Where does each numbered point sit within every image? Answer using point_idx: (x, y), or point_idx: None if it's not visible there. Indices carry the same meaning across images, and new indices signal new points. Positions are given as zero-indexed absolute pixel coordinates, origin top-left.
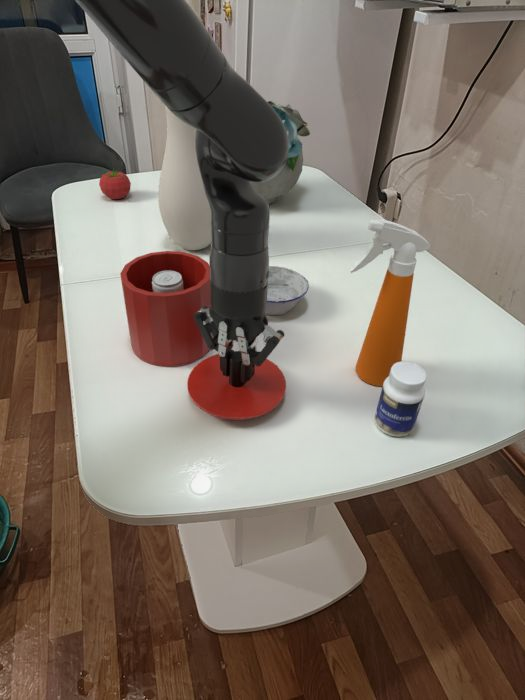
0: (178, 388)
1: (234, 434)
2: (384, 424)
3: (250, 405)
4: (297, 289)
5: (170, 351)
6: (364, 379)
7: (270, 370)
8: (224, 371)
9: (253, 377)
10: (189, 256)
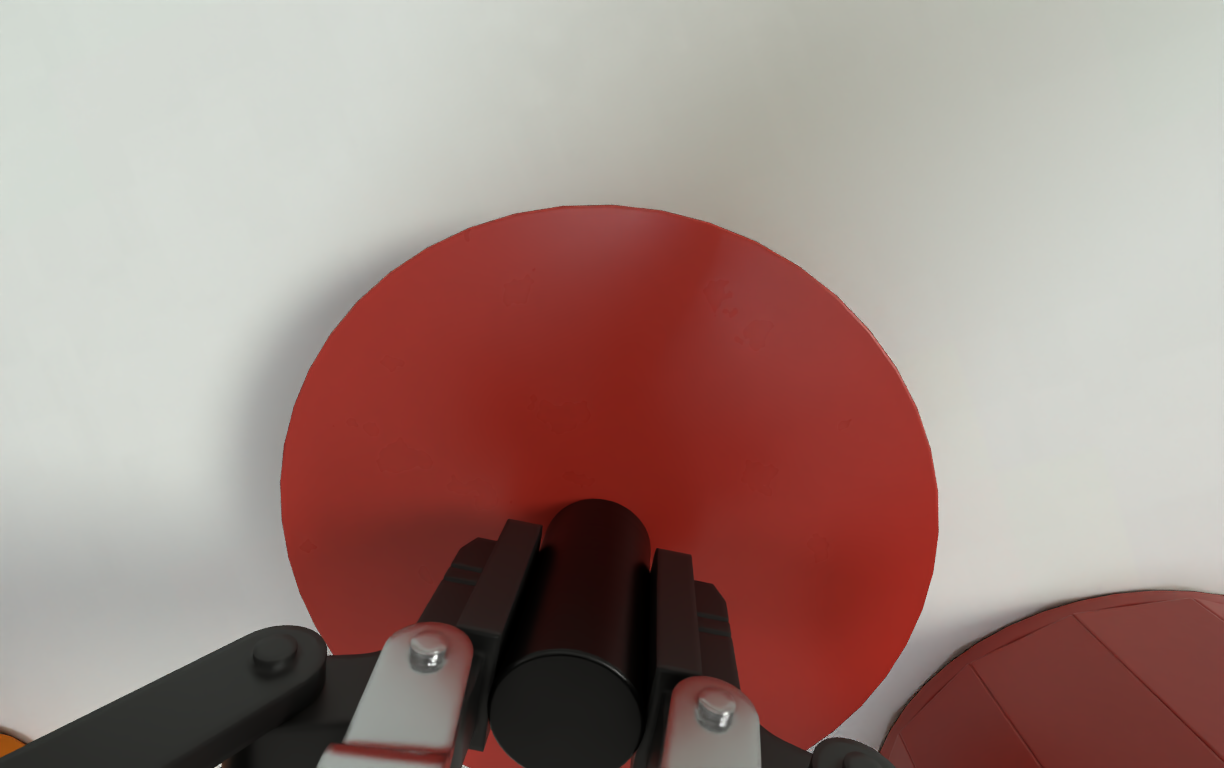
0: (967, 440)
1: (500, 169)
2: None
3: (434, 362)
4: None
5: (1162, 693)
6: (5, 750)
7: None
8: (677, 573)
9: None
10: None
